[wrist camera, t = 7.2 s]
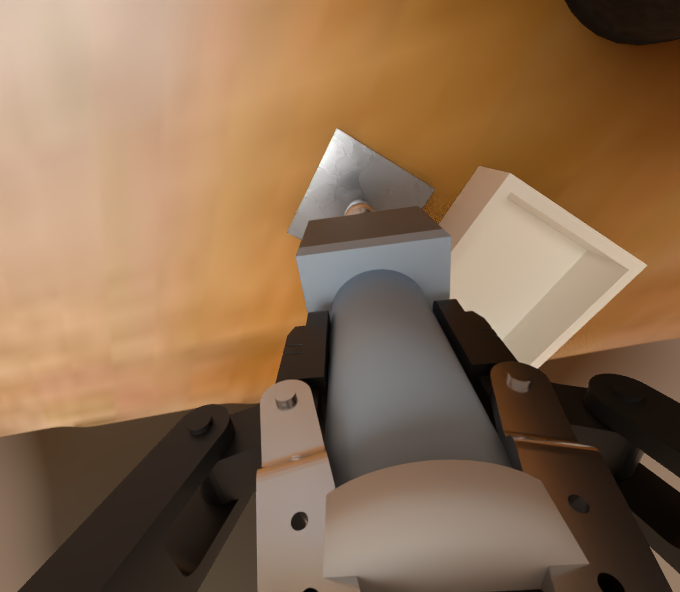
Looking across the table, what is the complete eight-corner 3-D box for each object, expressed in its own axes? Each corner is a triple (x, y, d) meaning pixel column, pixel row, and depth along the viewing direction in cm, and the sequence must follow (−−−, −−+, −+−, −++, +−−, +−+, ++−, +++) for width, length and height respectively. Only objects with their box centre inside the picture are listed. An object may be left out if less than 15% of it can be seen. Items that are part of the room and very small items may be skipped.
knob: (308, 220, 16) (193, 536, 3) (417, 205, 16) (736, 495, 3) (325, 313, 19) (295, 696, 6) (419, 302, 18) (602, 682, 6)
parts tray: (387, 296, 34) (396, 325, 29) (479, 165, 28) (510, 172, 23) (494, 350, 37) (519, 385, 32) (597, 243, 31) (647, 265, 26)
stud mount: (288, 230, 31) (279, 246, 26) (336, 128, 27) (336, 127, 22) (375, 275, 33) (380, 297, 29) (432, 187, 29) (449, 197, 25)
